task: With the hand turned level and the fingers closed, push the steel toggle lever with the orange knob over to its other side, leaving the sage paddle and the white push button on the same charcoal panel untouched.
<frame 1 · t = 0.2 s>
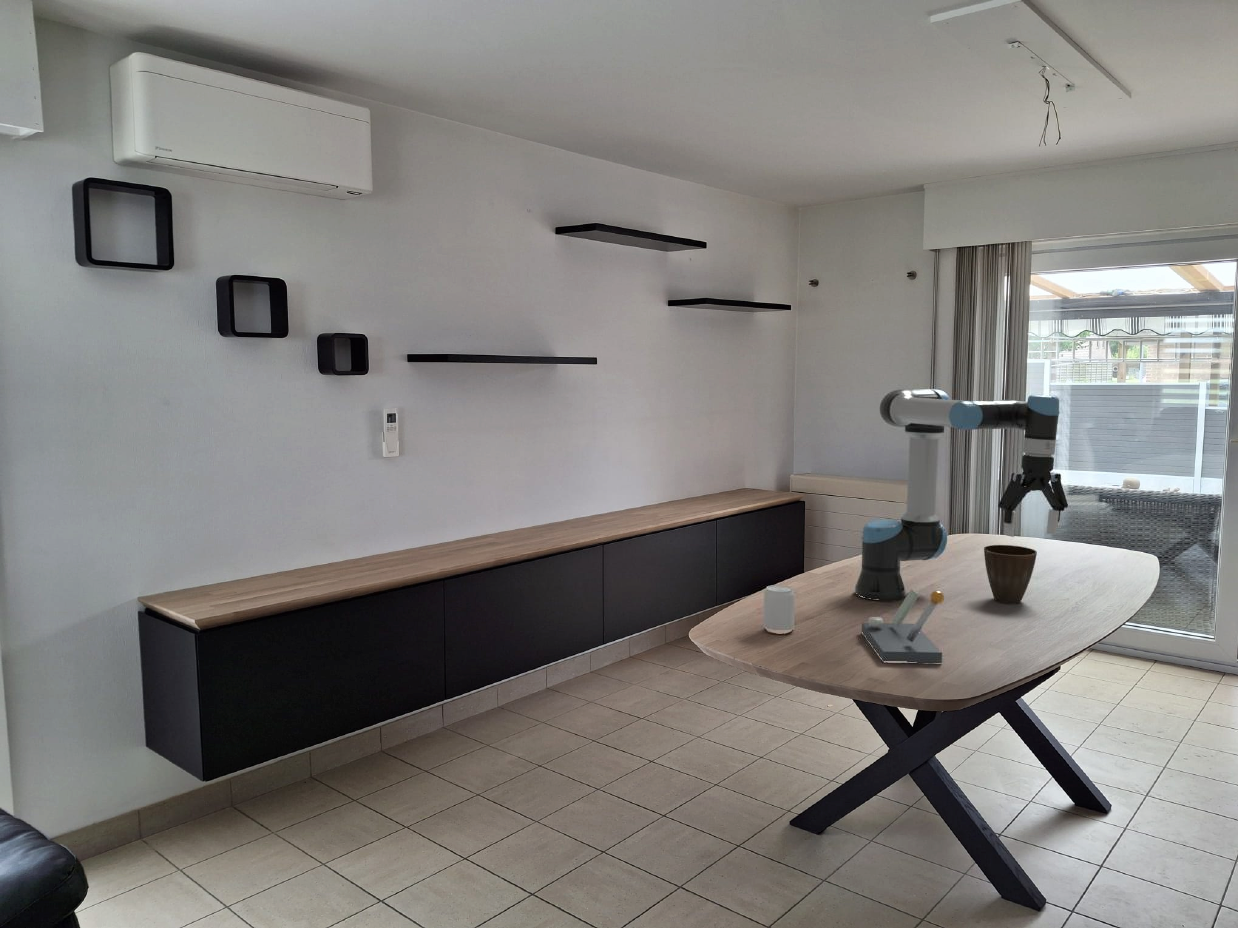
hand: (1030, 535, 230), 28 cm above the table, tool pointing down, fingers open, 13 cm apart
switch panel: (899, 648, 224), on the table
plant pot: (1007, 601, 270), on the table
steel toggle lever: (925, 616, 216), point 11 cm above the table, hinge at -30.0°
beverage can: (778, 631, 239), on the table
sage paddle: (905, 607, 230), point 9 cm above the table, hinge at -30.0°
white push button: (875, 622, 231), point 5 cm above the table, slide at 0.0 cm
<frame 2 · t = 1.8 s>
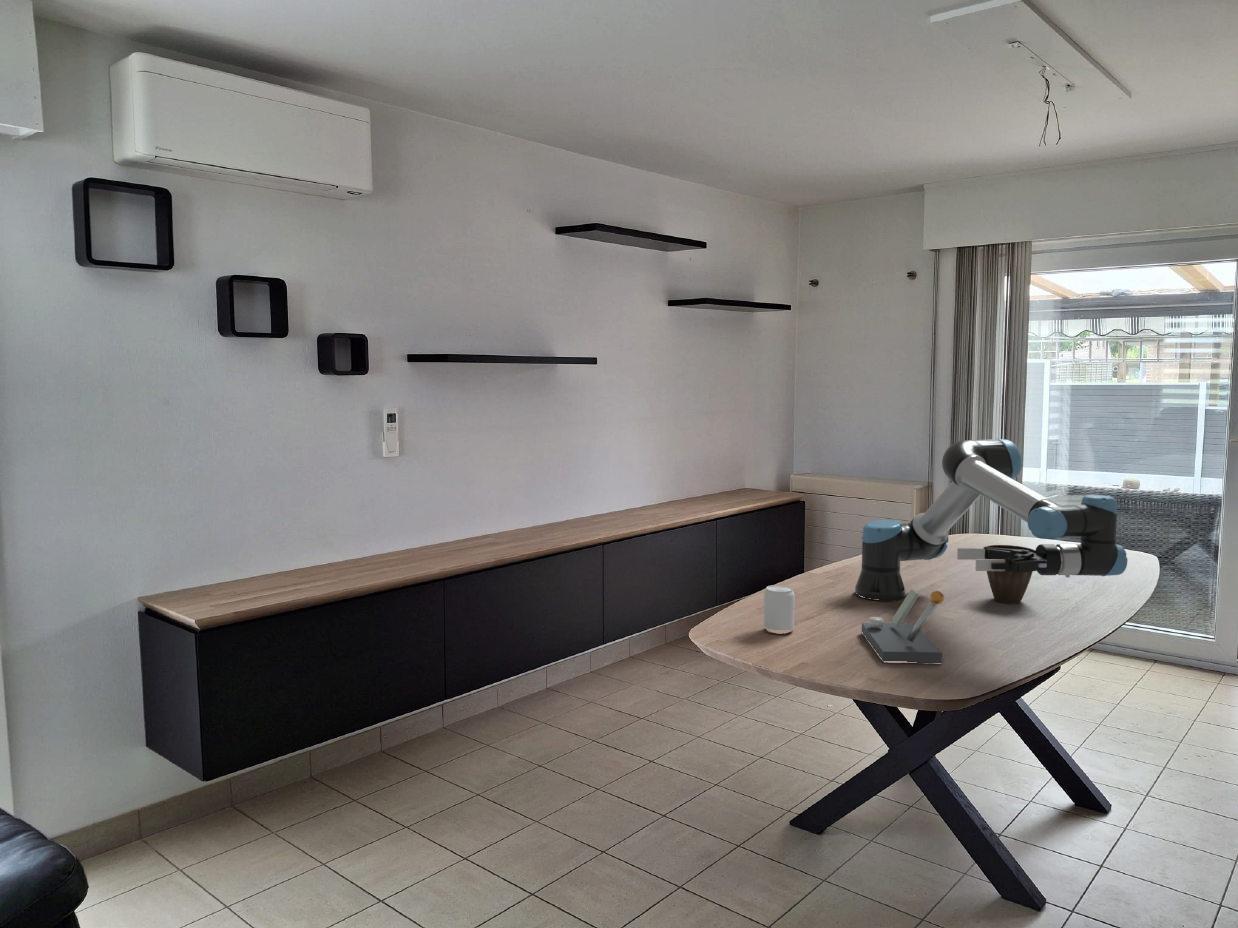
hand: (966, 559, 214), 25 cm above the table, tool horizontal, fingers open, 13 cm apart
nothing on the table moved.
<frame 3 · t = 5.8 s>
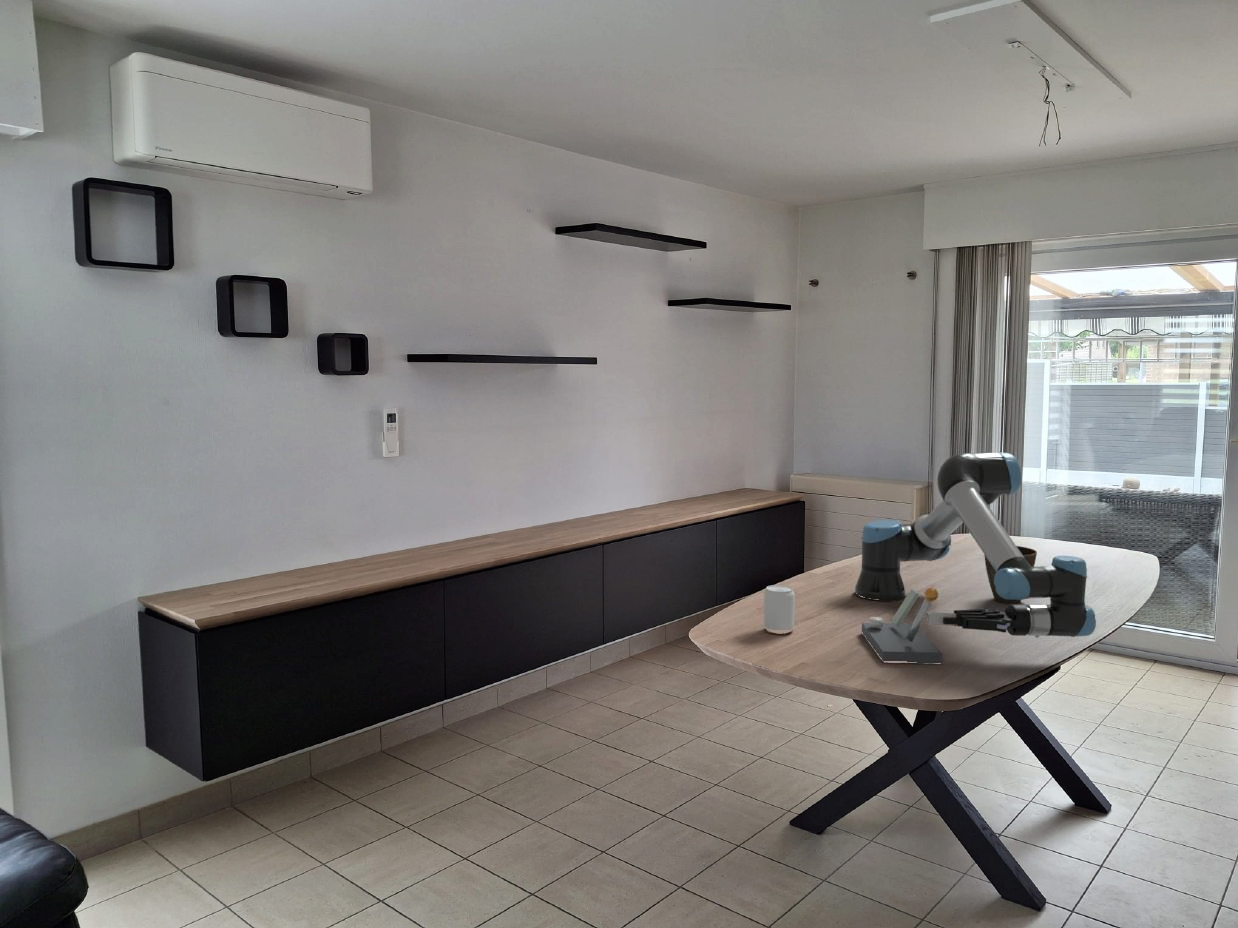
hand: (928, 618, 215), 10 cm above the table, tool horizontal, fingers closed
steel toggle lever: (921, 614, 216), point 11 cm above the table, hinge at -23.2°, touching gripper
everything else where it was.
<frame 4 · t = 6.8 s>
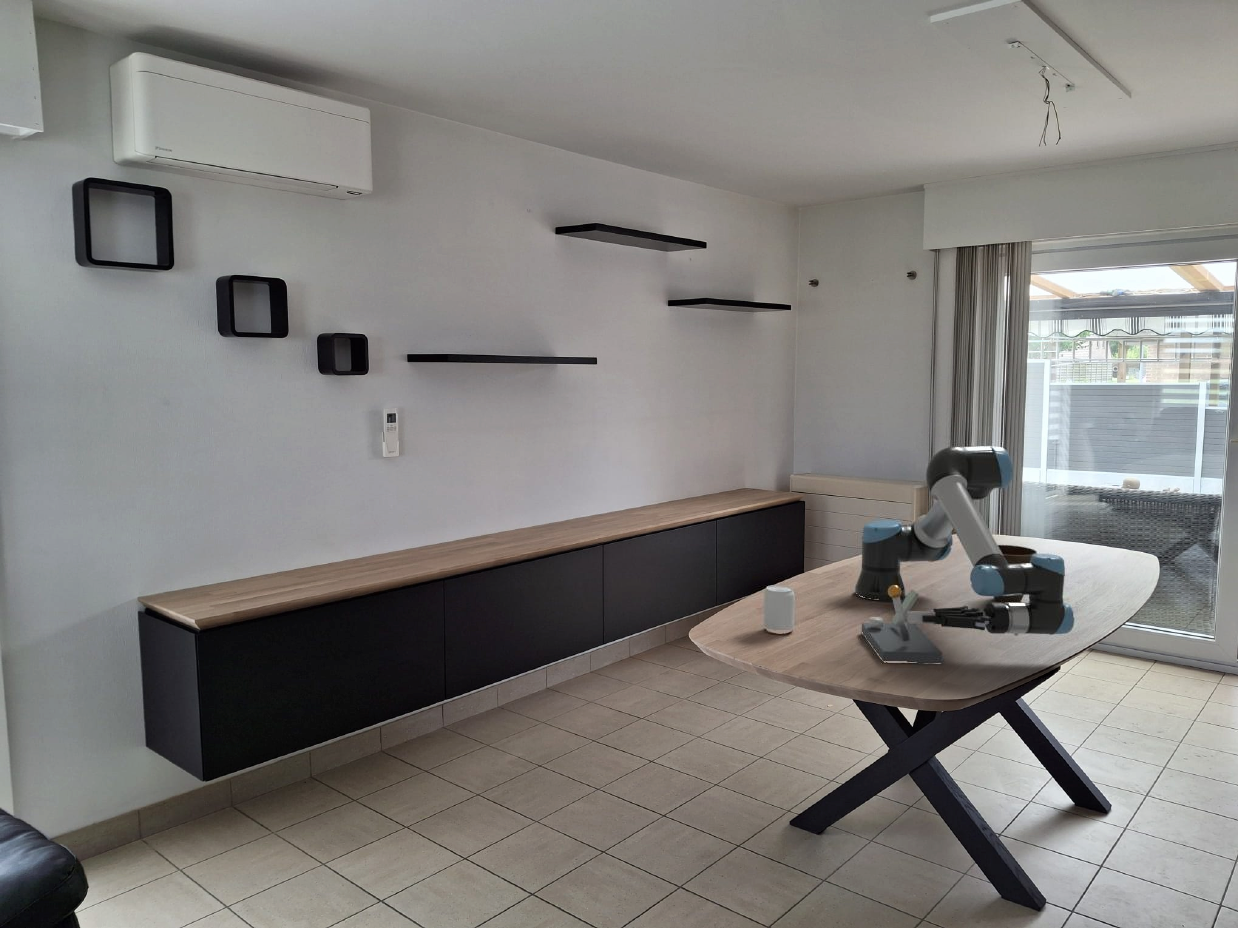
hand: (907, 617, 216), 10 cm above the table, tool horizontal, fingers closed
steel toggle lever: (899, 612, 216), point 11 cm above the table, hinge at 15.2°, touching gripper
everything else where it was.
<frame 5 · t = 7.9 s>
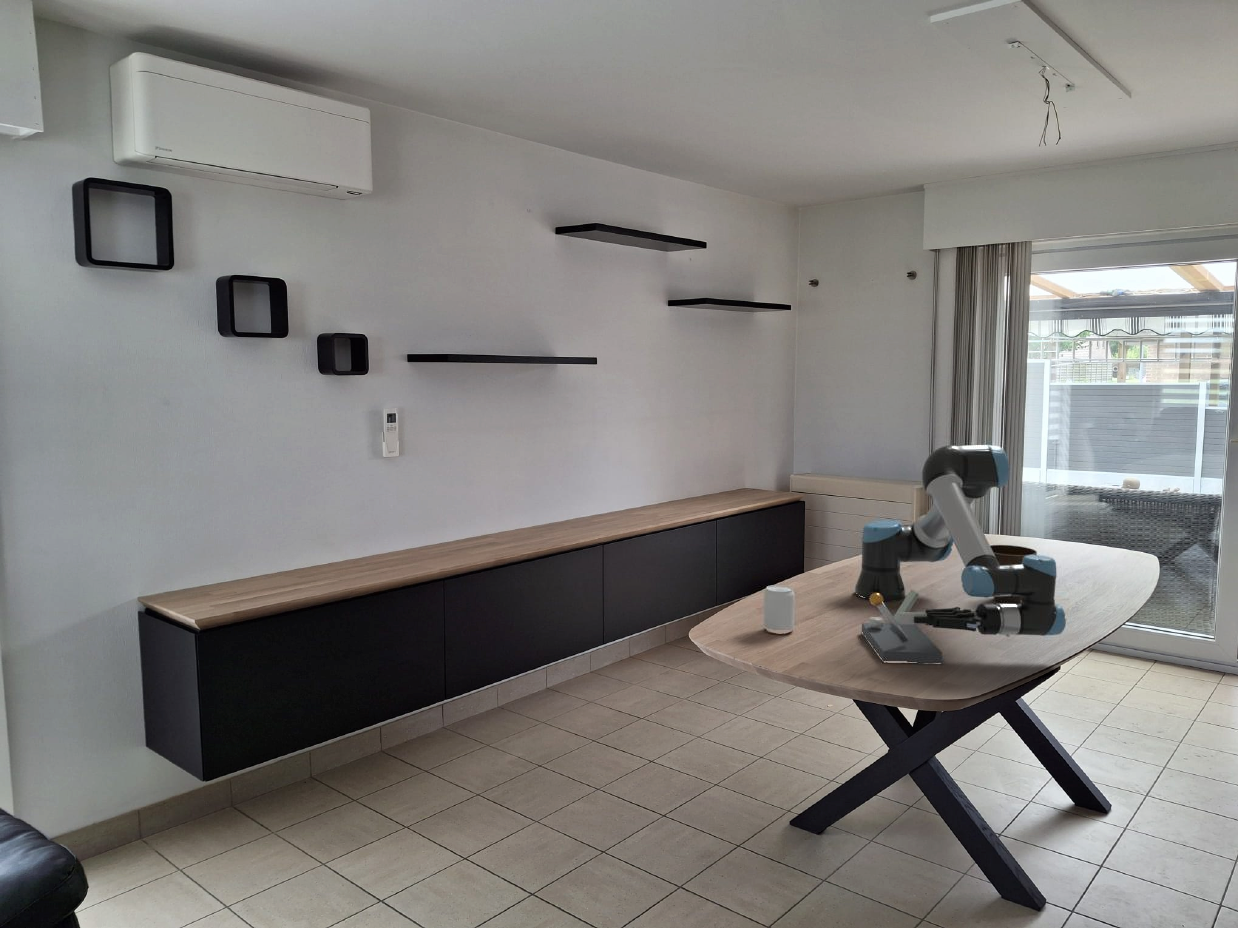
hand: (899, 618, 216), 10 cm above the table, tool horizontal, fingers closed
steel toggle lever: (888, 617, 216), point 10 cm above the table, hinge at 35.4°, touching gripper
everything else where it was.
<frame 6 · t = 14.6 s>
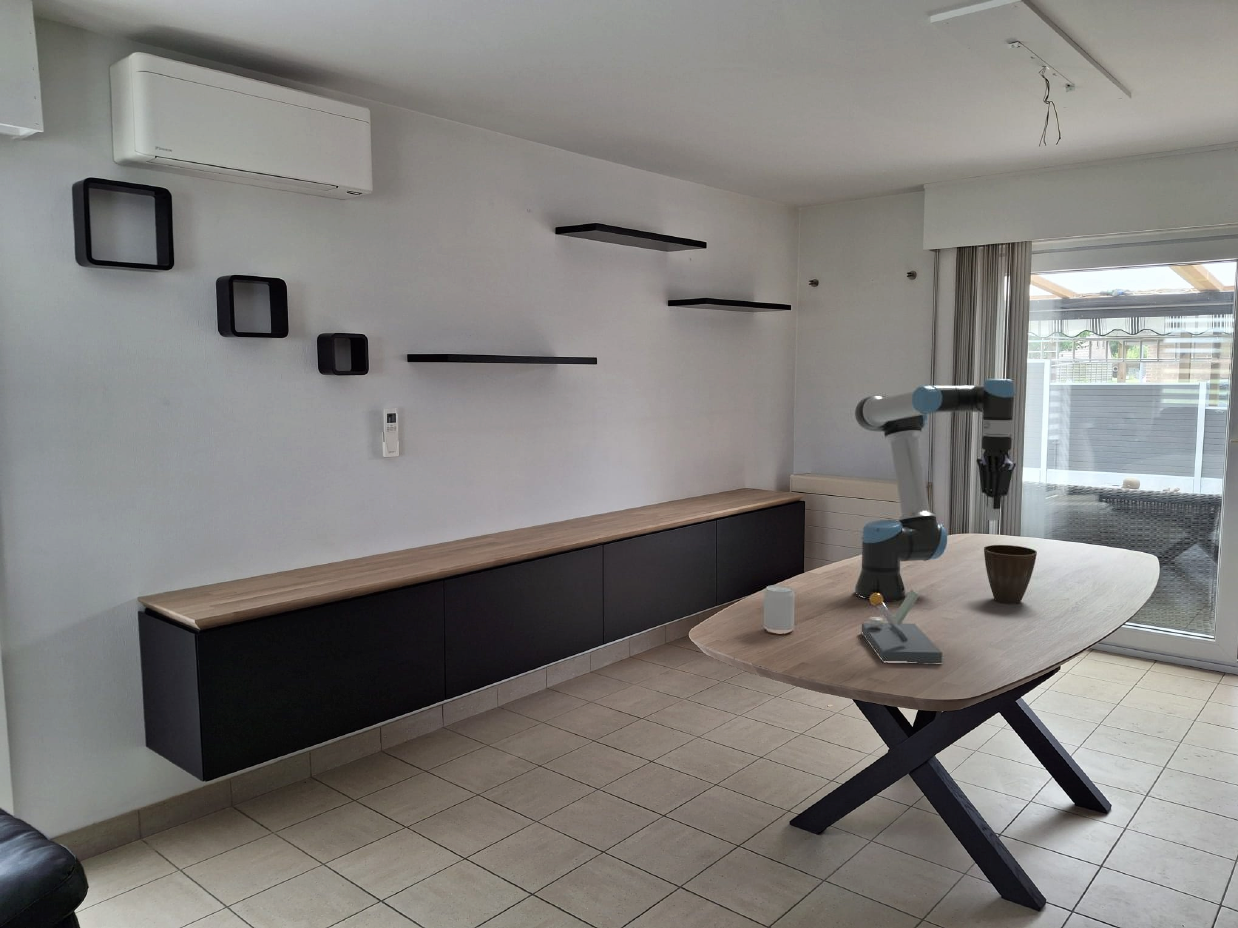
hand: (992, 519, 243), 29 cm above the table, tool pointing down, fingers closed
steel toggle lever: (888, 617, 216), point 10 cm above the table, hinge at 35.4°
everything else where it was.
at the end: steel toggle lever at +35° (first picture: -30°); sage paddle at -30° (first picture: -30°); white push button slide at 0.0 cm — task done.
